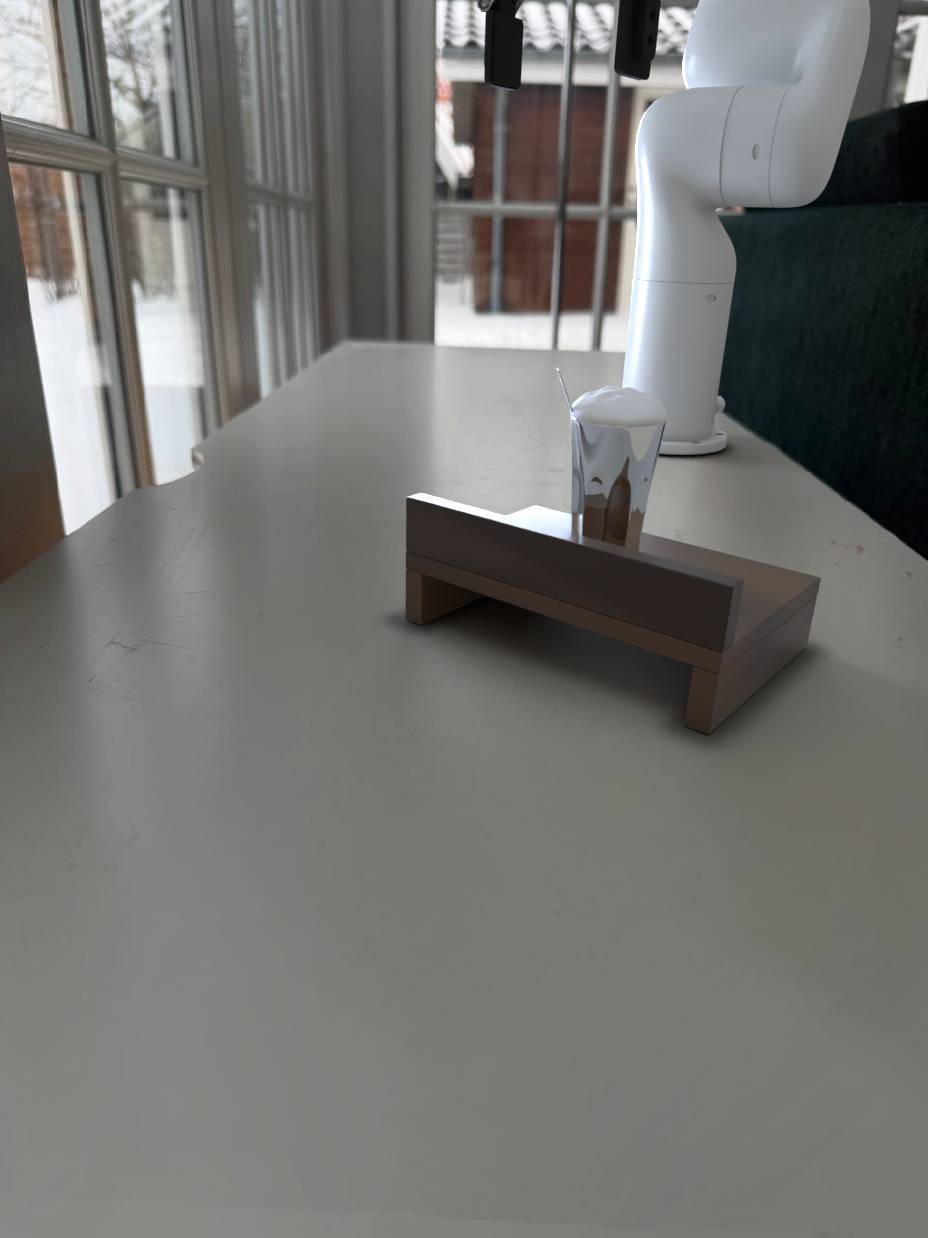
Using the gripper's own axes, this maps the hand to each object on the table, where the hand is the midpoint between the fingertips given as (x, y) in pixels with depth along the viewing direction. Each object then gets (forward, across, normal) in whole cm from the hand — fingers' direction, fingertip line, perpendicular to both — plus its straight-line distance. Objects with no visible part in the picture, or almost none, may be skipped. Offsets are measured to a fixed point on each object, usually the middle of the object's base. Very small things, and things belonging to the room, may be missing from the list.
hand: (563, 82), depth 55 cm
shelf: (+28, -15, +15) cm, 35 cm away
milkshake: (+24, -15, +16) cm, 33 cm away
